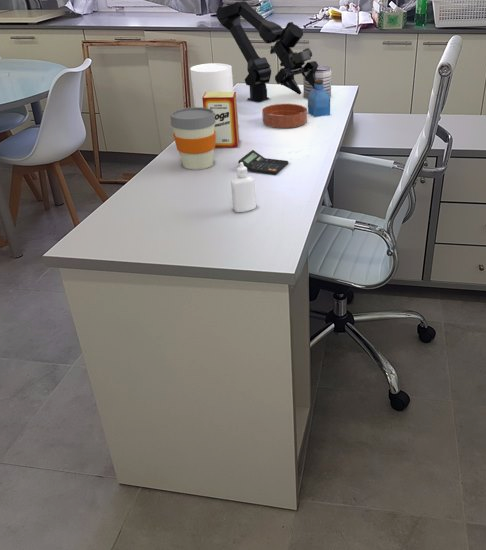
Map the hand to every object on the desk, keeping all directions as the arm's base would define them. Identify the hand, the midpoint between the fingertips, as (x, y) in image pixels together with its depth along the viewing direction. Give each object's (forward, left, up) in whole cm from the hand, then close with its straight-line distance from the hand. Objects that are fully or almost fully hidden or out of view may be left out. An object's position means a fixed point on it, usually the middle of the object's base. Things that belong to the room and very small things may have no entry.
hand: (308, 91), depth 210 cm
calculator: (+26, -53, -8) cm, 59 cm away
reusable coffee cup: (+9, -63, -8) cm, 64 cm away
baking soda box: (+2, -46, -8) cm, 46 cm away
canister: (-13, -35, -8) cm, 38 cm away
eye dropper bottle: (+42, -77, -8) cm, 88 cm away
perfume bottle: (+5, 0, -8) cm, 9 cm away
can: (-11, +19, -8) cm, 24 cm away
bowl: (+2, -16, -7) cm, 17 cm away
